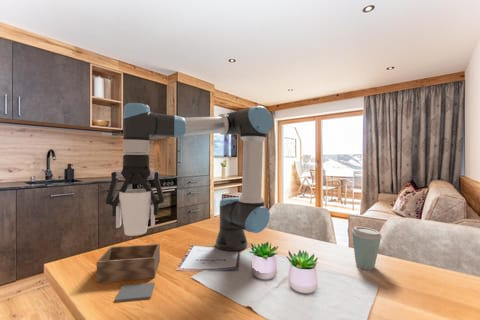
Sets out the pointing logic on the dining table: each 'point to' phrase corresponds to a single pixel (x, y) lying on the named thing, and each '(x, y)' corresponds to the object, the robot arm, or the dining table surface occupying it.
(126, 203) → the foam cup
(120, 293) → the mat
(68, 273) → the dining table surface
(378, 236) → the disposable coffee cup
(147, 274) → the crate
